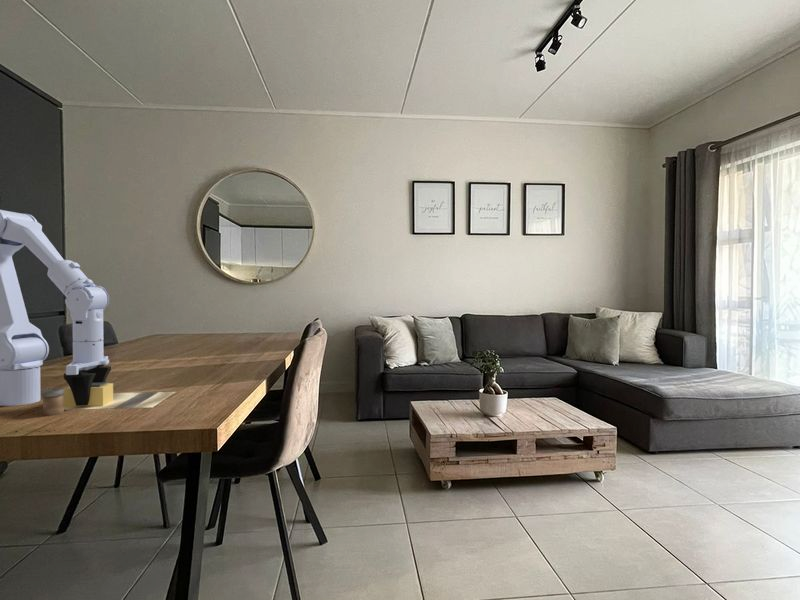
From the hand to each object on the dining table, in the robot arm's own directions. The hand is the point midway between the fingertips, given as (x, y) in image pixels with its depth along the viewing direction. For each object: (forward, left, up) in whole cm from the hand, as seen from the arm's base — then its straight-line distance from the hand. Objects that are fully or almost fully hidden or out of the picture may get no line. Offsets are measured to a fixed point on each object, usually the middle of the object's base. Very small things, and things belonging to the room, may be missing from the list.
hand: (88, 402), depth 107 cm
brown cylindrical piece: (-3, -8, -2) cm, 9 cm away
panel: (+5, +3, -2) cm, 6 cm away
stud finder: (0, 0, 0) cm, 0 cm away
